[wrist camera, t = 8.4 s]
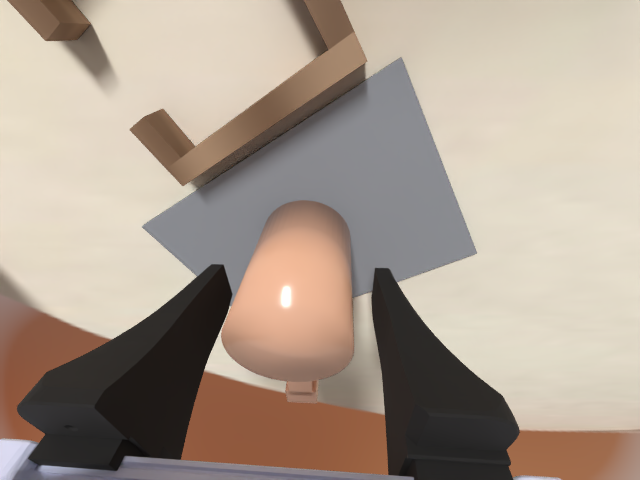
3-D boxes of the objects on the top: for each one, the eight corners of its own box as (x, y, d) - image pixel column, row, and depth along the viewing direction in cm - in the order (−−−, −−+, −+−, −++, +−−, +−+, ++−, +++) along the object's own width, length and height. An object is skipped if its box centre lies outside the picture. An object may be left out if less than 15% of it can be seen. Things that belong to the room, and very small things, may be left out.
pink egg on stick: (347, 315, 20) (348, 425, 14) (277, 312, 20) (252, 420, 15) (352, 200, 15) (357, 305, 9) (257, 199, 15) (205, 300, 10)
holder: (196, 173, 15) (182, 186, 13) (-2, -48, 10) (-48, -59, 9) (365, 58, 11) (367, 61, 10) (181, -354, 7) (145, -437, 6)
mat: (259, 329, 22) (259, 331, 22) (143, 224, 17) (141, 226, 17) (475, 250, 16) (477, 253, 16) (400, 57, 11) (401, 57, 11)
